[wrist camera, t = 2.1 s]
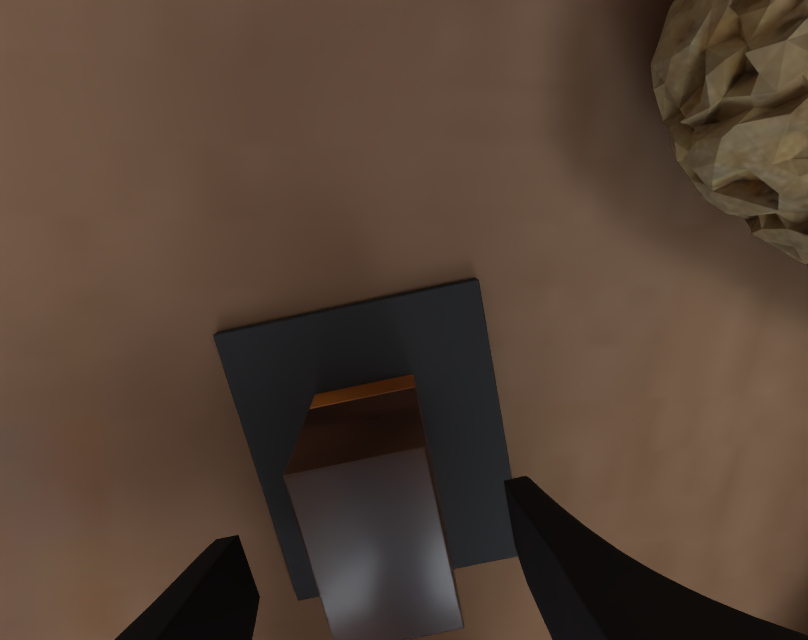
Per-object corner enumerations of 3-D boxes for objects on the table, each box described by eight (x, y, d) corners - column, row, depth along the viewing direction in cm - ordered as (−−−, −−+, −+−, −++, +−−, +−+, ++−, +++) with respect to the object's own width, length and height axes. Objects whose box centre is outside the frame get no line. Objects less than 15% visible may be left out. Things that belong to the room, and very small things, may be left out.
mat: (299, 593, 18) (297, 601, 18) (216, 331, 15) (212, 335, 15) (521, 547, 18) (524, 555, 18) (476, 277, 15) (478, 279, 15)
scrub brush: (350, 527, 17) (336, 655, 12) (313, 393, 16) (282, 476, 11) (442, 509, 17) (464, 629, 12) (413, 373, 16) (425, 446, 11)
